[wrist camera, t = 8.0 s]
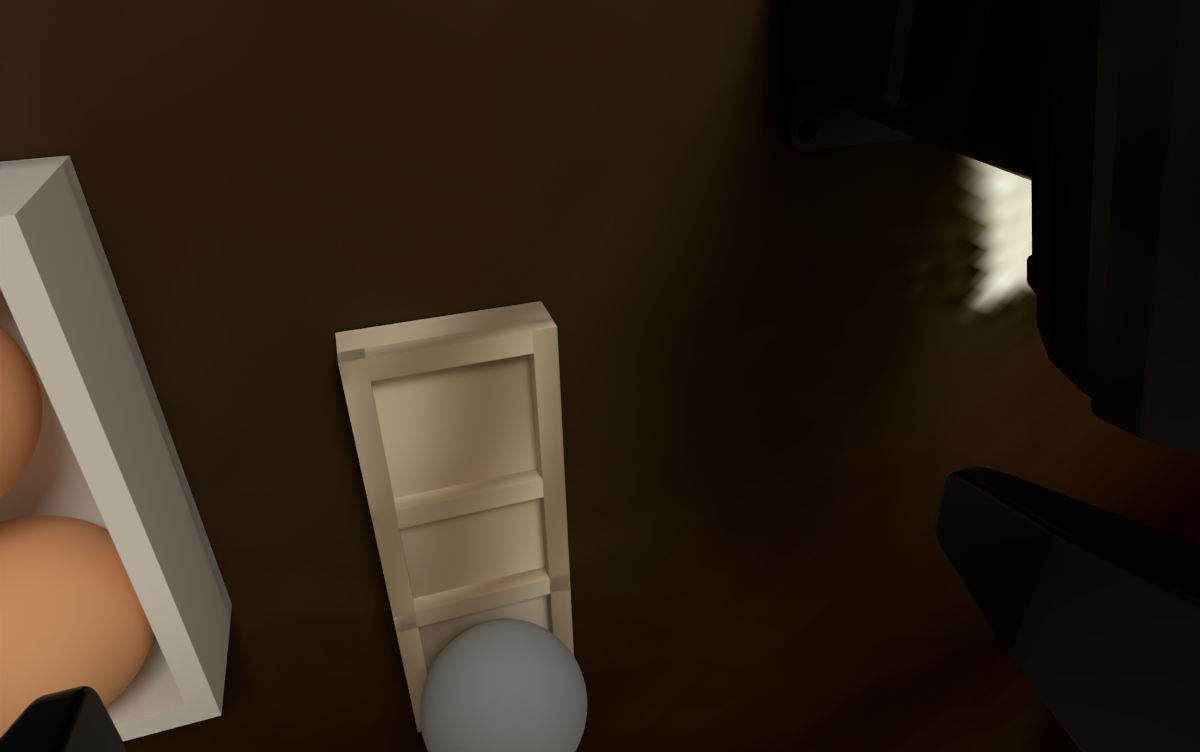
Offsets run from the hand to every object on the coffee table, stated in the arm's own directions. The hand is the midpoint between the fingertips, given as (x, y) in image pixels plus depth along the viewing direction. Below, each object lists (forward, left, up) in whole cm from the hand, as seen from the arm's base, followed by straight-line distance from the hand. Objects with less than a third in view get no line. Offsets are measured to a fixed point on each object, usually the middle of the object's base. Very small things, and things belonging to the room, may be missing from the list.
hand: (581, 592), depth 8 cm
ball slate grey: (0, +13, -11) cm, 17 cm away
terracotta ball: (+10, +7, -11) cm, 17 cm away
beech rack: (0, +9, -12) cm, 15 cm away
